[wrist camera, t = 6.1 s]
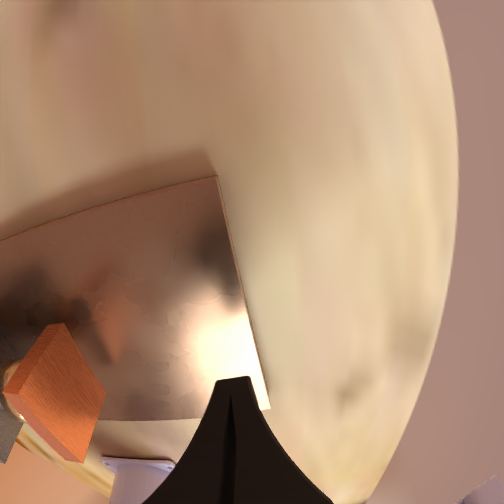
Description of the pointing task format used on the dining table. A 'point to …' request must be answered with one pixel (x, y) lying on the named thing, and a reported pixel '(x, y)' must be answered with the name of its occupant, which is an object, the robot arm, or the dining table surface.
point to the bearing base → (135, 301)
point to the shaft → (54, 392)
